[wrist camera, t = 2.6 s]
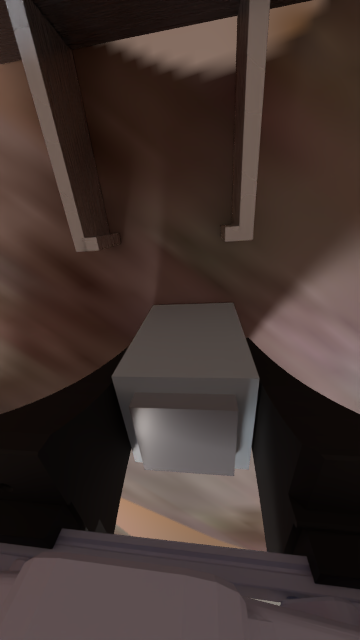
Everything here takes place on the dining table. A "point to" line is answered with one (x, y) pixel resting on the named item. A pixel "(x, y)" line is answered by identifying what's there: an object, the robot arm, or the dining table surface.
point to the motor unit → (67, 107)
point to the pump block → (189, 390)
